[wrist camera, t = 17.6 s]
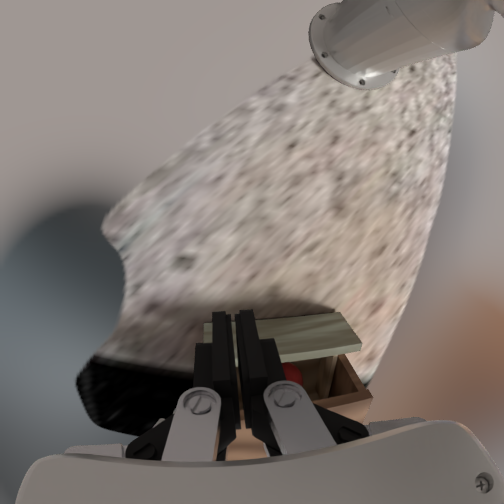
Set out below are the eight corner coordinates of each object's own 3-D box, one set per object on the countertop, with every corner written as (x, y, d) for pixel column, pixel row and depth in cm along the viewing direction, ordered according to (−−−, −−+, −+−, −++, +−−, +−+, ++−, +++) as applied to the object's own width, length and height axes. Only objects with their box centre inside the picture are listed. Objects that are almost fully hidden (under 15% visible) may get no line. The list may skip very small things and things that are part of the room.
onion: (269, 384, 41) (279, 424, 33) (247, 363, 39) (255, 405, 31) (302, 364, 40) (318, 403, 33) (282, 342, 38) (297, 382, 31)
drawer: (203, 323, 37) (202, 360, 30) (339, 312, 39) (362, 343, 32) (212, 397, 42) (214, 434, 35) (325, 384, 44) (340, 417, 37)
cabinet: (206, 346, 39) (207, 422, 26) (334, 334, 41) (373, 397, 28) (213, 403, 43) (217, 471, 30) (322, 390, 45) (349, 451, 32)
